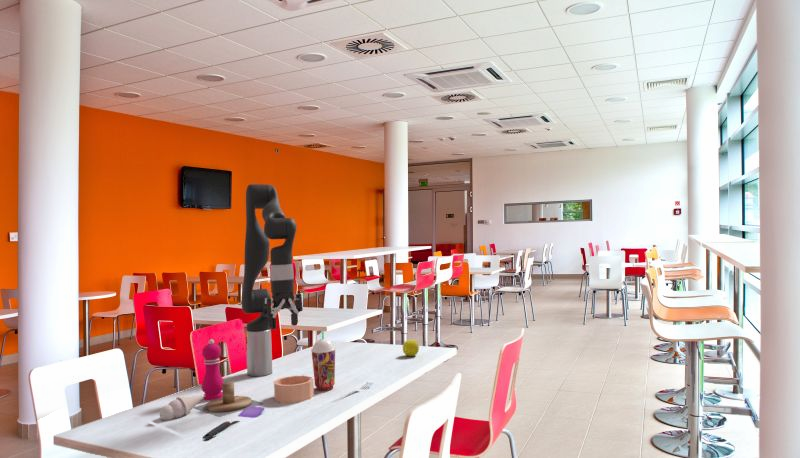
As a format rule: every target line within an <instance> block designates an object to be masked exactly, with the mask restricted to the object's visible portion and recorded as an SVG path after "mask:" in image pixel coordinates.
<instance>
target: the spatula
mask: <svg viewBox="0 0 800 458" xmlns="http://www.w3.org/2000/svg"><path fill="white" fill-rule="evenodd" d="M264 410H266V409H265V407H261V406H255V407H249V408H246V409H244V410H242V411H240V413H238V415H237V417H241V418H250V419H251V418H252V419H254V418H258V416H260V415H261V414H262V413H263V412H264ZM234 422H238V423H239V422H240V420H238V419H231V420H228V421H227V420H226V421H224V422H222V423H220V424H219V425H217V426H216V427H214V428H213V429H211V430H210V431H208V432H207V433H206V434H205V435H203V436H202V441H203V442H206V441H210V440H212V439H213V438H215V437H217V435H219V434H220V433H222V432H224V430H225V429H227V428H228V427H229V426H231V424H232V423H234Z"/></svg>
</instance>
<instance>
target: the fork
mask: <svg viewBox="0 0 800 458" xmlns="http://www.w3.org/2000/svg"><path fill="white" fill-rule="evenodd" d="M373 384H374V382H368V381H367V382H366V383H365V384H364V385H362V386H361V387H360V388H359V390H352V391H350V392H348V393H346V394H344V395H342V396H340V397H338V398H335V399H334V400H333V401H331V403H336V402H340V401H341V400H343V399H345V398H346V397H348V396H349V395H351V394H352V393H355V392H357V393H361V391H360V390H362V391H367V390H368V389H369V388H370V387H371V386H372V385H373Z"/></svg>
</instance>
